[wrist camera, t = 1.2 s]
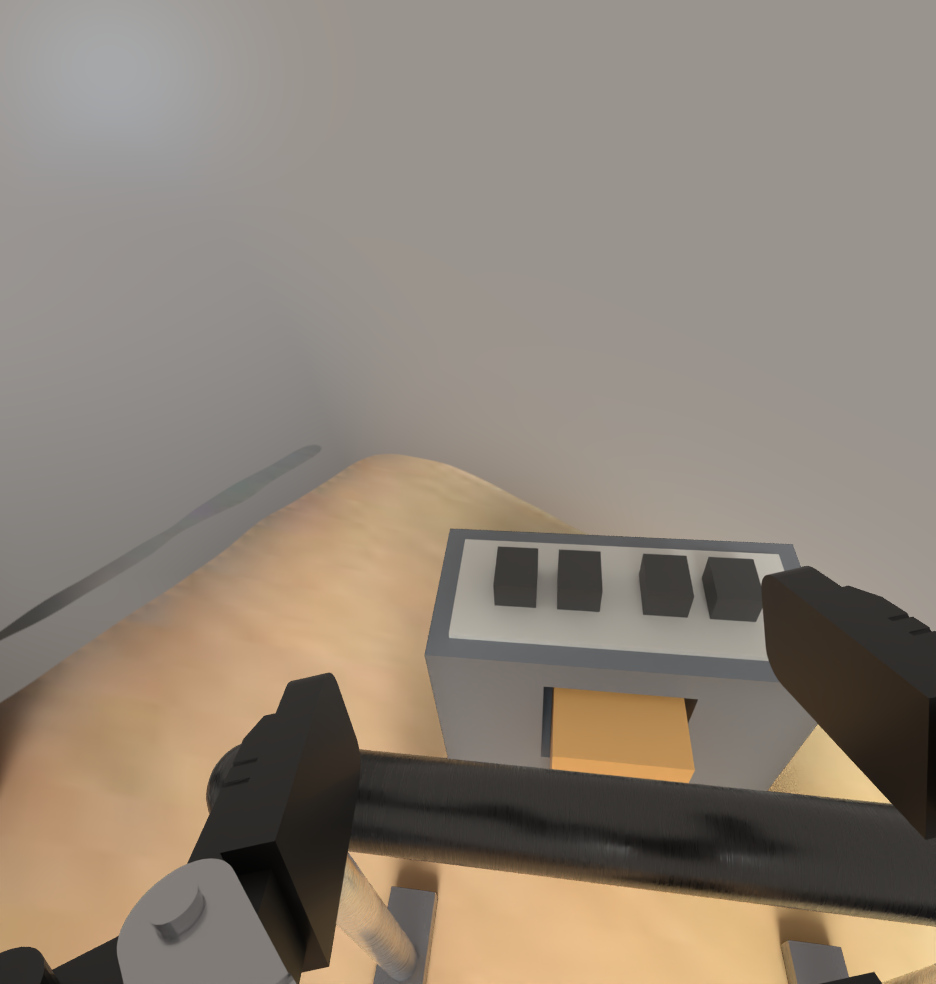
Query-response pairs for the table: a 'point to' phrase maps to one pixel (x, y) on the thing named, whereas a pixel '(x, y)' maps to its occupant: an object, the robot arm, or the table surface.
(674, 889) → the cord gate
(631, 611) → the box
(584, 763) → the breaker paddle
